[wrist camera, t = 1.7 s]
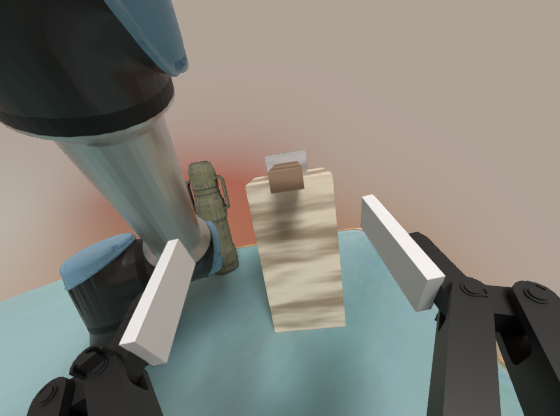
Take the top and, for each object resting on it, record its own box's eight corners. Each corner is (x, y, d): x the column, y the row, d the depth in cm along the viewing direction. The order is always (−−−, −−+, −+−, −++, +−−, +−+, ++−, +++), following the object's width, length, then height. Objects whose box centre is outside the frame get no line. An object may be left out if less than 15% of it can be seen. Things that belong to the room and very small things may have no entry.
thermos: (210, 263, 74) (183, 164, 64) (243, 257, 75) (221, 158, 65) (205, 278, 65) (172, 166, 56) (242, 270, 66) (216, 159, 57)
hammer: (317, 186, 24) (313, 151, 23) (258, 195, 25) (252, 161, 24) (305, 170, 42) (302, 150, 41) (271, 175, 43) (268, 155, 42)
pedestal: (345, 326, 41) (332, 173, 33) (275, 332, 42) (245, 186, 34) (334, 292, 50) (322, 167, 42) (277, 298, 51) (254, 177, 43)
